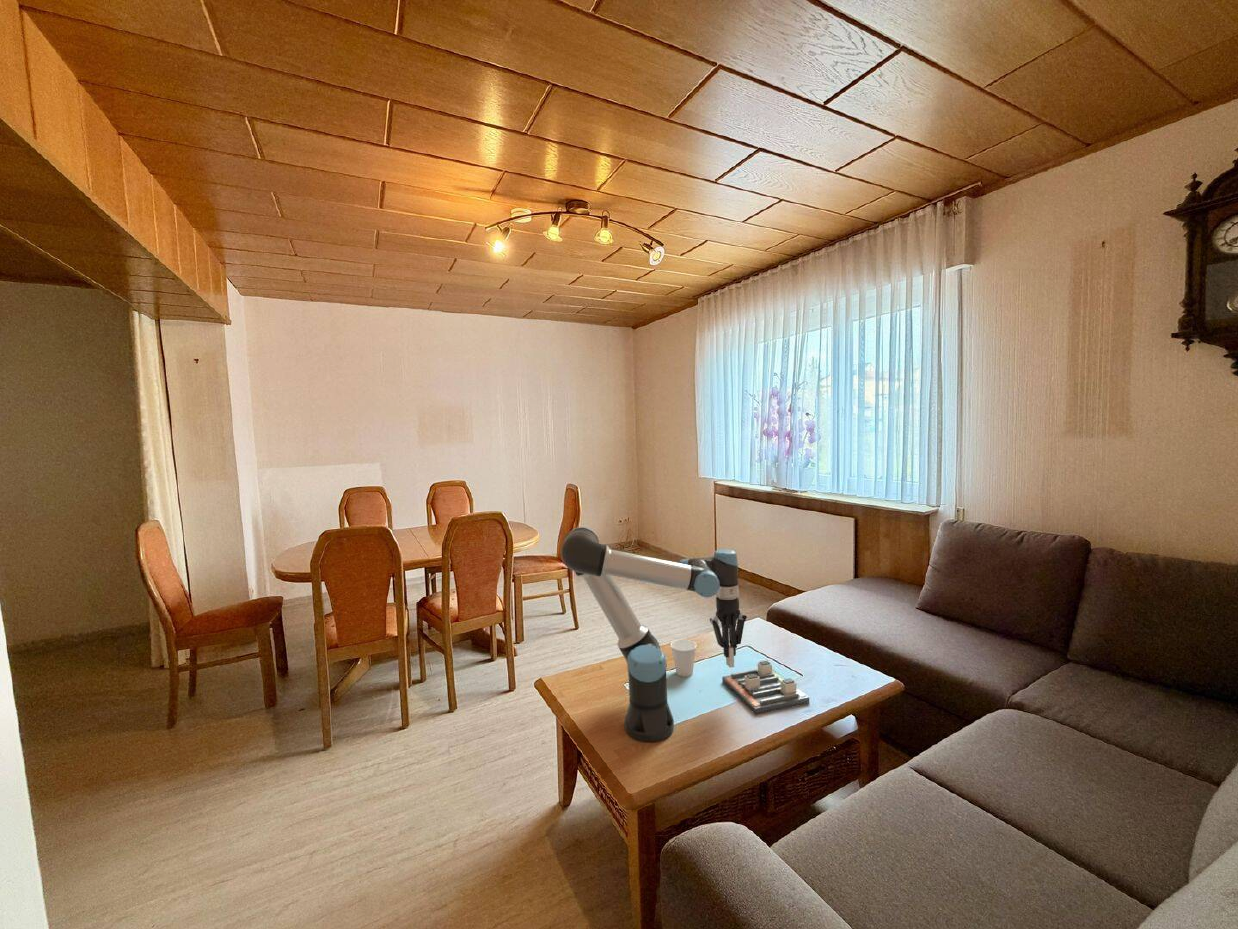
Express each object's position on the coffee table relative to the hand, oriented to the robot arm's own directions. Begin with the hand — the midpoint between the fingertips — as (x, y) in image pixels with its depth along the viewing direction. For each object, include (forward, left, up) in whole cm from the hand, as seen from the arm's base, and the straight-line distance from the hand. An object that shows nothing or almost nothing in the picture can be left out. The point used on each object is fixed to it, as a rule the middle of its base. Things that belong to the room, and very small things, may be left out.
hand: (730, 665), depth 163 cm
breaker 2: (+18, +7, -9) cm, 21 cm away
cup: (-7, +22, -12) cm, 26 cm away
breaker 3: (+18, -7, -9) cm, 21 cm away
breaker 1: (+8, 0, -9) cm, 12 cm away
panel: (+13, 0, -12) cm, 17 cm away
